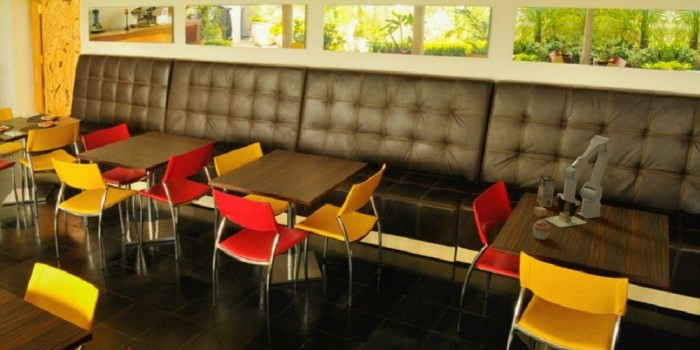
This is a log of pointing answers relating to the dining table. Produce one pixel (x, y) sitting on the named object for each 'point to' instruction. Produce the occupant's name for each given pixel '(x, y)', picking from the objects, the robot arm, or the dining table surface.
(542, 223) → the cupcake
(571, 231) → the dining table surface
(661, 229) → the dining table surface
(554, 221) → the pale green rectangular panel
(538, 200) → the coffee box
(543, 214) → the terracotta block
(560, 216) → the birch block
